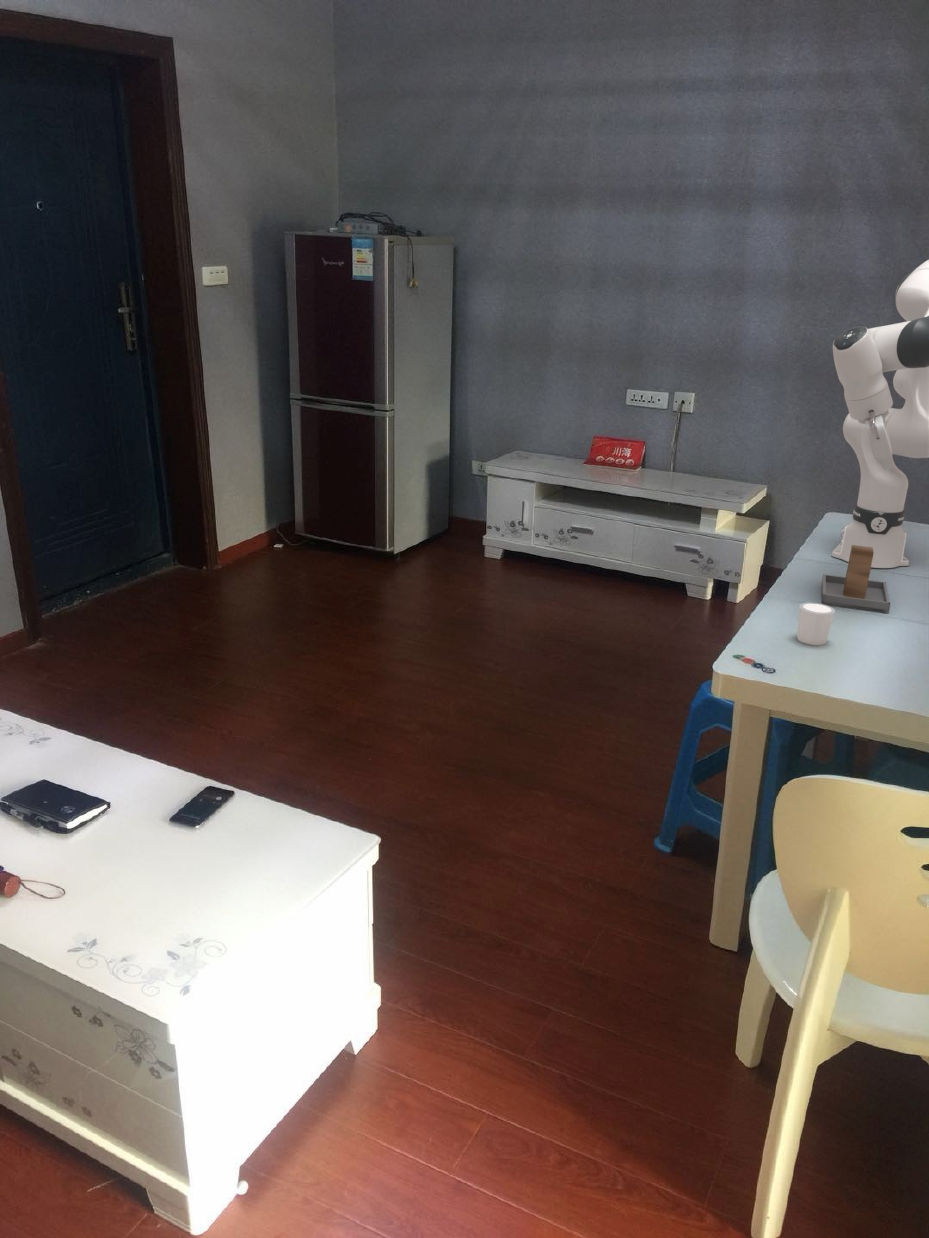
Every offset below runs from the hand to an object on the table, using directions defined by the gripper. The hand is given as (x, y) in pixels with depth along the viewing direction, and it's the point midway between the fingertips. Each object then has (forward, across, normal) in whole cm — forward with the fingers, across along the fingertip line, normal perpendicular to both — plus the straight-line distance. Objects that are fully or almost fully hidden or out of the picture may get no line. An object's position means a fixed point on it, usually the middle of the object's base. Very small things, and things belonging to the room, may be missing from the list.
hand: (886, 459), depth 213 cm
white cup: (+16, -41, +21) cm, 49 cm away
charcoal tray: (+27, -10, +14) cm, 32 cm away
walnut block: (+26, -10, +14) cm, 31 cm away
